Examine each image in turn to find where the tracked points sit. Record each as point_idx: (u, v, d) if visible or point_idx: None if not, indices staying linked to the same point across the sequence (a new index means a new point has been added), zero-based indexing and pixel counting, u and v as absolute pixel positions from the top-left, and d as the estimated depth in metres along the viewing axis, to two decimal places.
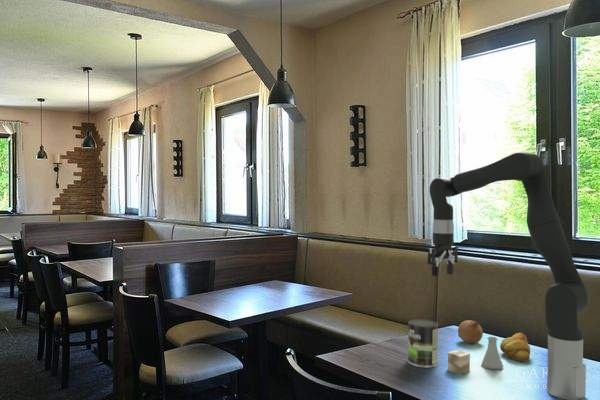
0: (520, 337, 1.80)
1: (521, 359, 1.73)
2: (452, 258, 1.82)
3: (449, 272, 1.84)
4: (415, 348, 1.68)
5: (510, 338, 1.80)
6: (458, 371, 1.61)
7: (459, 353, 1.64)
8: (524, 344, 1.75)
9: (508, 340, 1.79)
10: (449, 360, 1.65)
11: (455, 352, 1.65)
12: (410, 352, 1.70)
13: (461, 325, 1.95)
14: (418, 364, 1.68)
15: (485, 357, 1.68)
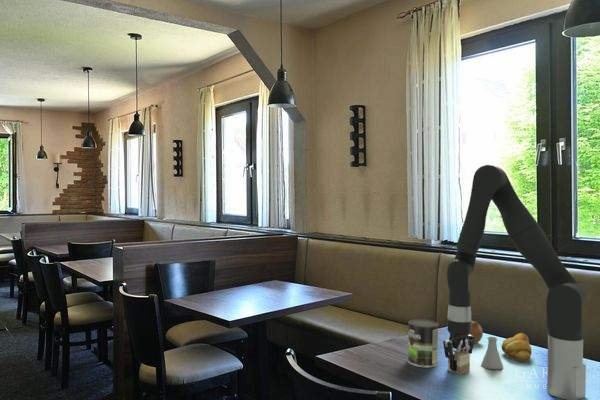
0: (521, 338, 1.79)
1: (522, 359, 1.72)
2: (467, 349, 1.64)
3: None
4: (415, 348, 1.68)
5: (511, 338, 1.80)
6: (458, 371, 1.61)
7: (459, 353, 1.64)
8: (525, 344, 1.74)
9: (509, 340, 1.79)
10: (448, 360, 1.65)
11: None
12: (410, 352, 1.70)
13: None
14: (418, 364, 1.68)
15: (485, 357, 1.68)
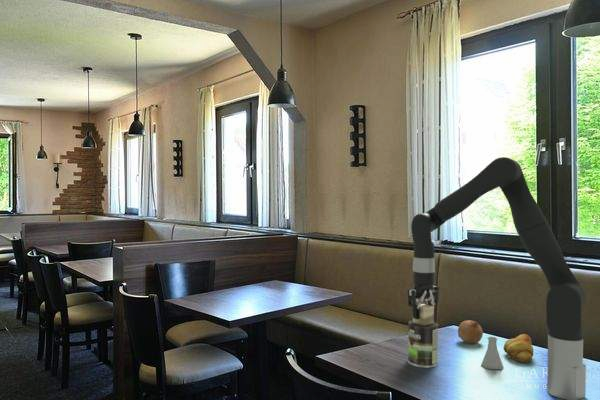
0: (523, 338, 1.78)
1: (523, 360, 1.71)
2: (432, 299, 1.72)
3: None
4: (415, 348, 1.68)
5: (513, 339, 1.79)
6: (422, 322, 1.69)
7: (424, 306, 1.71)
8: (527, 345, 1.73)
9: (511, 341, 1.78)
10: None
11: None
12: (410, 352, 1.70)
13: (461, 325, 1.95)
14: (418, 364, 1.68)
15: (485, 357, 1.68)
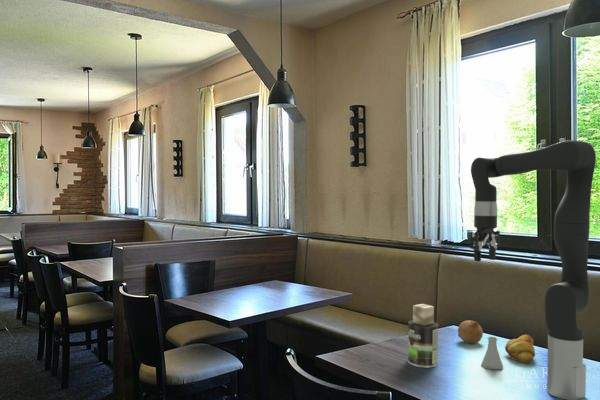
0: (525, 339, 1.78)
1: (524, 361, 1.71)
2: (495, 242, 1.72)
3: (491, 257, 1.74)
4: (415, 348, 1.68)
5: (515, 339, 1.78)
6: (422, 322, 1.69)
7: (424, 306, 1.71)
8: (528, 346, 1.73)
9: (512, 341, 1.78)
10: (414, 313, 1.72)
11: (419, 305, 1.72)
12: (410, 352, 1.70)
13: (461, 325, 1.95)
14: (418, 364, 1.68)
15: (485, 357, 1.68)
